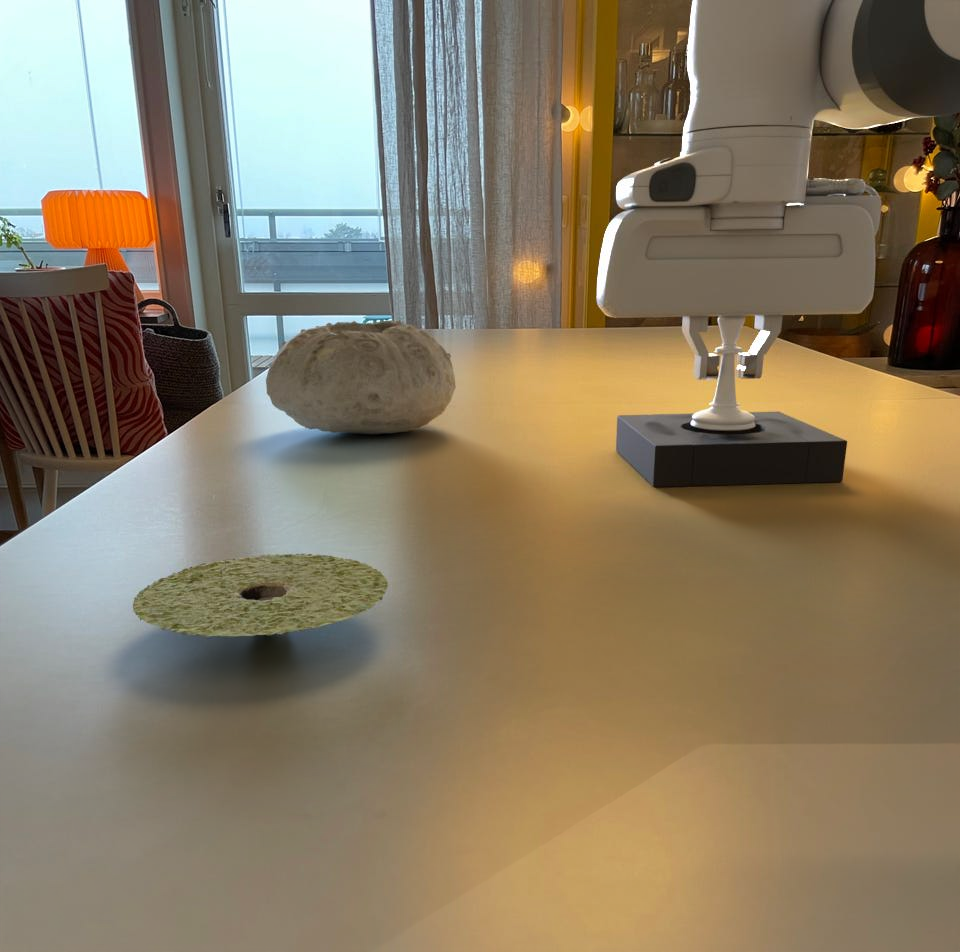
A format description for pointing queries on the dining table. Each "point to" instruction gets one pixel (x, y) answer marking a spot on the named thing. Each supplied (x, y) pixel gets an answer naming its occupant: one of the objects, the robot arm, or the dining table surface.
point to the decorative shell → (361, 378)
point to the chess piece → (726, 385)
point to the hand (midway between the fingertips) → (726, 378)
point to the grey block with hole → (729, 451)
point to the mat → (260, 595)
